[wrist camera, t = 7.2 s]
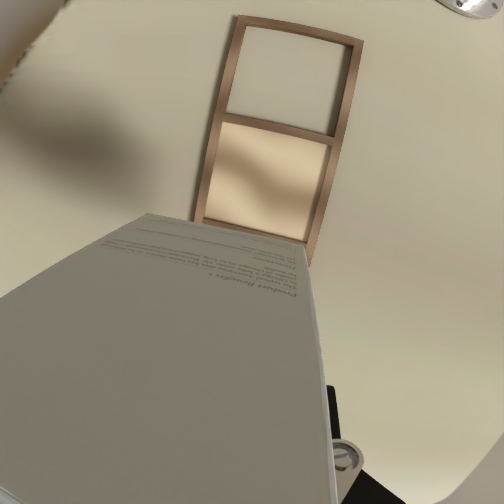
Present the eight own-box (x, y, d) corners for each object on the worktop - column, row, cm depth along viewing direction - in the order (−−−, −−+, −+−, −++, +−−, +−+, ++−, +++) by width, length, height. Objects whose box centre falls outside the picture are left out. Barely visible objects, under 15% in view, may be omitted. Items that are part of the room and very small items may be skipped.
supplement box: (138, 343, 16) (9, 534, 4) (147, 208, 14) (-122, 368, 2) (273, 378, 16) (239, 622, 4) (312, 244, 13) (359, 600, 1)
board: (240, 17, 24) (238, 14, 23) (362, 43, 24) (363, 40, 23) (183, 309, 34) (180, 313, 34) (286, 336, 34) (286, 340, 33)
